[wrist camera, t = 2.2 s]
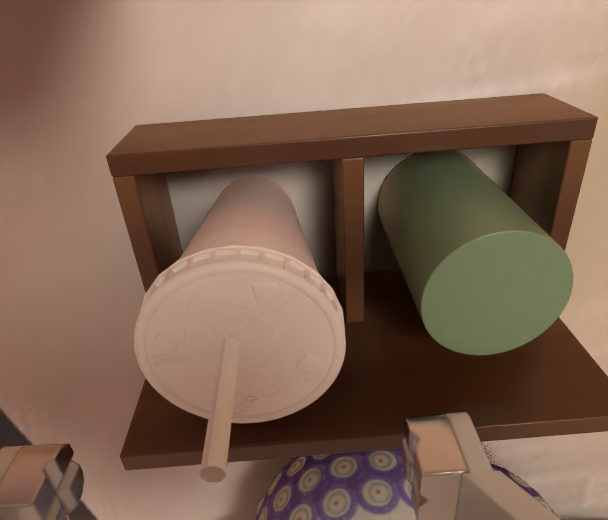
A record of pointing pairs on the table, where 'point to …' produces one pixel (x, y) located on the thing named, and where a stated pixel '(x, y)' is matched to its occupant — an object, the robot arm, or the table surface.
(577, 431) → the rack
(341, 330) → the smoothie
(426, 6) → the table surface
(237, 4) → the table surface
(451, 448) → the robot arm
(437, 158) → the spice tin
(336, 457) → the teapot
